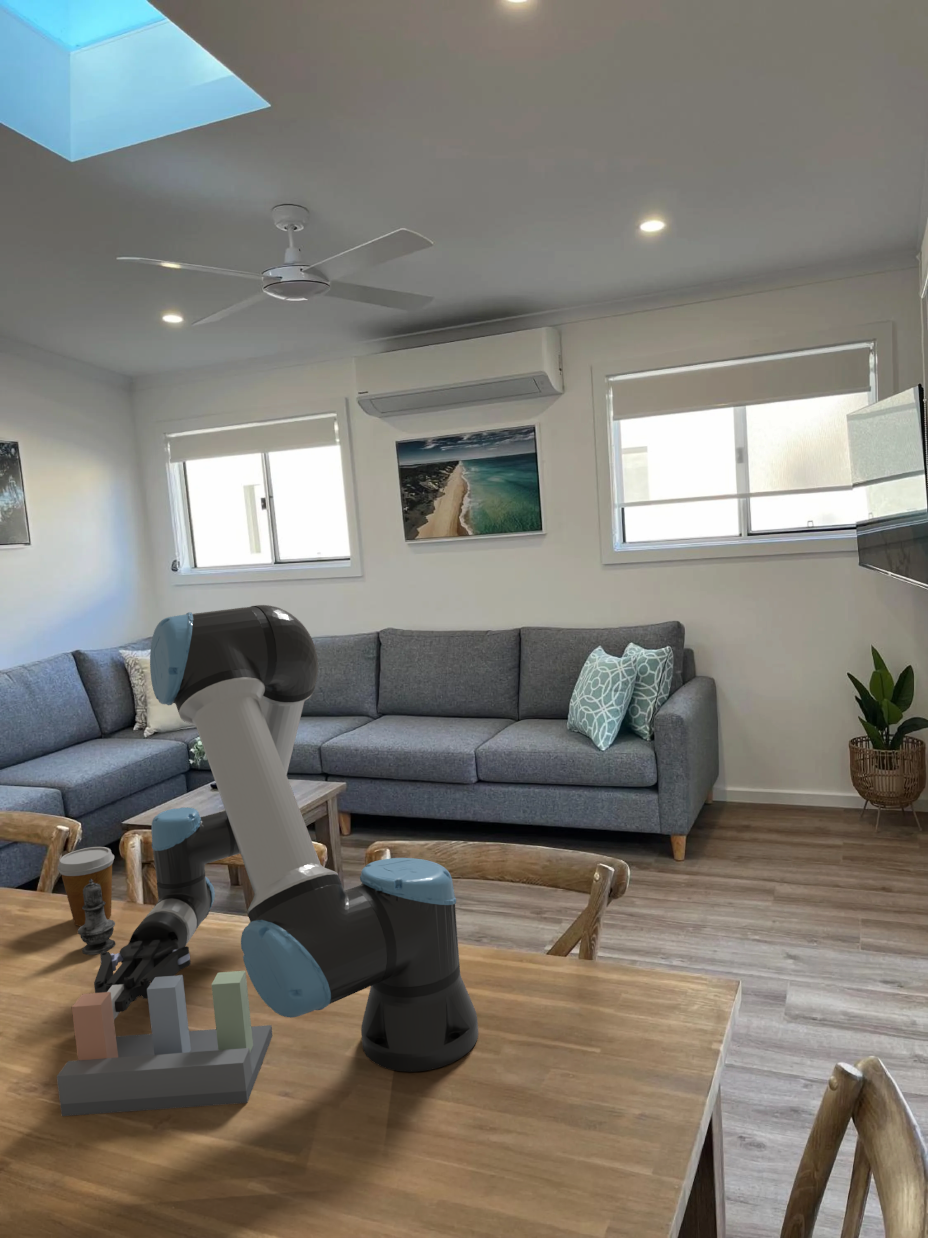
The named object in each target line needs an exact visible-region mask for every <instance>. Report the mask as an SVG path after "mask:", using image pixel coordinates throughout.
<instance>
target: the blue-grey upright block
mask: <svg viewBox="0 0 928 1238" xmlns="http://www.w3.org/2000/svg"><path fill="white" fill-rule="evenodd" d="M147 995H148V998H147V1002H148V1012H149V1018H150V1019H149V1021H150V1028H151V1029H150V1030H151V1034H152V1039H153V1048H154V1055H160V1054H173V1053H187V1052H190V1050H191V1046H190V1037H189V1031H190V1029H189V1022H188V1021H189V1020H188V1012H187V1004H186V994H185V983H184V976H183V974H179V975H174V976H164V977H155V978H154V980H153V981H152V983H151V982H150V985H149V987H148V988H147Z"/></svg>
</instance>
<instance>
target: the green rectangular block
mask: <svg viewBox="0 0 928 1238" xmlns="http://www.w3.org/2000/svg"><path fill="white" fill-rule="evenodd" d="M246 971H247V970H235V971H223V972H222V971H221V972H217V974H216V976H215V977H214V980H213V981H212V983H211V992H212V994H211V995H212V1002H213V1003H212V1004H213V1012H214V1020H215V1029H216V1033H217V1042H218V1050H229V1049H243V1048H249V1050H250V1052H251V1049H252V1047H253V1039H252V1029H251V1026H252V1023H251V1022H252V1021H251V1012H250V1003H249V1002H250V1001H249V992H248V982H247V972H246Z"/></svg>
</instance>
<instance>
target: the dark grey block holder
mask: <svg viewBox="0 0 928 1238" xmlns="http://www.w3.org/2000/svg"><path fill="white" fill-rule="evenodd" d="M251 1029H252V1039H253V1047H252V1049H251V1052H250V1050H249V1048H243V1049H229V1050H218V1042H217V1033H216V1028H212V1029H199V1030H189V1037H190V1046H191V1050H190V1052H187V1053H173V1054H160V1055H154V1048H153V1039H152V1033H145V1034H127V1035H116V1042H117V1051H118V1058H104V1059H91V1060H78V1059H77V1060H68V1061H67V1062H66V1063H65V1064H64V1066H63V1067H62V1068H61V1070H59V1073H58V1074H57V1075H56V1081H57V1090H58V1098H59V1106H60V1113H61V1114H60V1115H61V1117H68V1116H82V1115H83V1116H85V1115H97V1114H109V1113H110V1114H111V1113H124V1112H125V1113H126V1112H127V1113H128V1112H137V1111H138V1112H139V1111H152V1110H155V1111H156V1110H166V1109H167V1110H168V1109H179V1108H180V1109H181V1108H195V1107H206V1106H207V1107H209V1106H222V1105H224V1106H225V1105H234V1104H235V1105H236V1104H247V1103H248V1102H249V1100H250V1097H251V1094H252V1092H253V1089H254V1086H255V1084H256V1081H257V1078H258V1075H259V1072H260V1070H261V1068H262V1065H263V1061H264V1060H265V1057H266V1054H267V1051H268V1049H269V1046H270V1043H271V1041H272V1038H273V1037H274V1036H273V1027H272V1024H267V1025H265V1024H264V1025H254V1026H253V1025H251Z"/></svg>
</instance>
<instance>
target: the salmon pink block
mask: <svg viewBox="0 0 928 1238" xmlns="http://www.w3.org/2000/svg"><path fill="white" fill-rule="evenodd" d="M71 1011H72V1012H71V1013H72V1021H73V1022H72V1023H73V1028H74V1036H75V1044H76V1053H77V1060H91V1059H104V1058H118V1051H117V1042H116V1036H117V1035H116V1027H115V1020H114V1017H113V1009H112V1000H111V992H103V993H95V992H91V993H82V994H81V995H80V996H79V997H78V999H77V1000H76V1001H75V1002H74V1004H73V1005H72V1006H71Z"/></svg>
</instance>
